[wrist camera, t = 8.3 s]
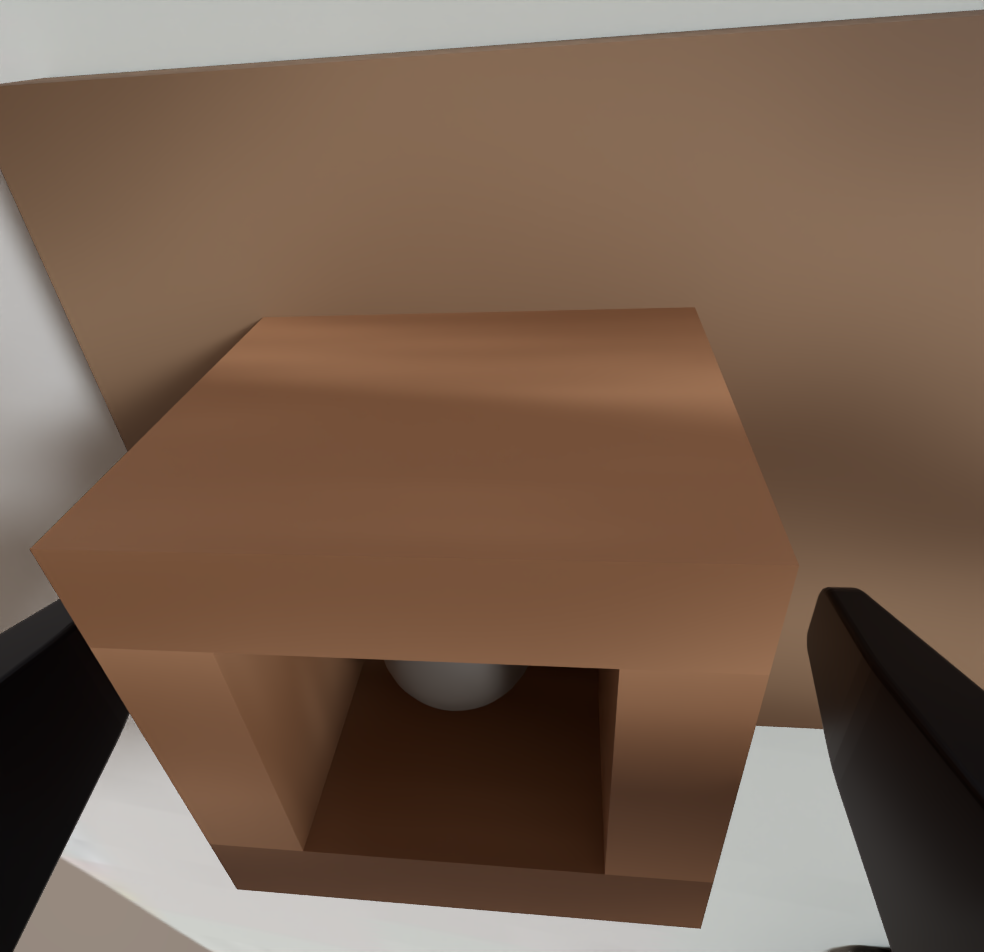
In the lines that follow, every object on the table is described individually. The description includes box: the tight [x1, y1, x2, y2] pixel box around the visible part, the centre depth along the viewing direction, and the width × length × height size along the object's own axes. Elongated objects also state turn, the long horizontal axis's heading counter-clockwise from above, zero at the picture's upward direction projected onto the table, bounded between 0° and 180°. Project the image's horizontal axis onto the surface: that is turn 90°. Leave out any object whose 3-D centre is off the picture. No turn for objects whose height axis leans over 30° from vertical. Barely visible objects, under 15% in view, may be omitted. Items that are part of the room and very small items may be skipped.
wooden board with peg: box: [0, 10, 984, 729], centre depth 9 cm, size 12×18×6 cm, turn 94°
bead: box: [30, 307, 799, 929], centre depth 9 cm, size 6×6×5 cm
